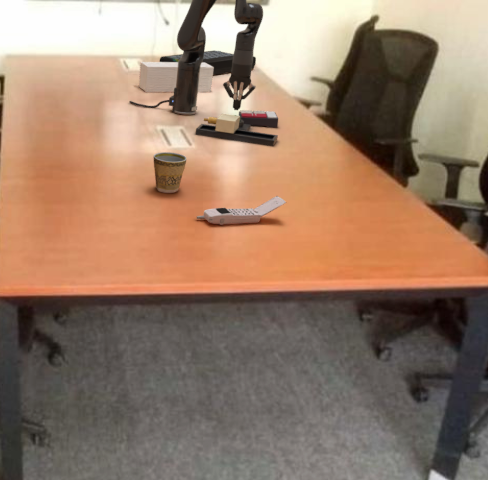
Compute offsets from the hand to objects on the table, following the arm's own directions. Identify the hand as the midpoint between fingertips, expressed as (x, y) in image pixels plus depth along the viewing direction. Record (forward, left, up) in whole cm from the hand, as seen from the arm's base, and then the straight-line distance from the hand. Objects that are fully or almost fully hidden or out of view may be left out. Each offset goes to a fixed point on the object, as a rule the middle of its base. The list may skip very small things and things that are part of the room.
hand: (236, 109), depth 298 cm
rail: (+4, -13, -7) cm, 15 cm away
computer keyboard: (-39, +114, -7) cm, 121 cm away
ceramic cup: (-2, -83, -7) cm, 83 cm away
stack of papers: (-40, +55, -7) cm, 68 cm away
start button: (0, 0, -4) cm, 4 cm away
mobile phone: (+24, -100, -7) cm, 103 cm away
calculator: (+7, +14, -7) cm, 17 cm away
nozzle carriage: (-3, -13, -6) cm, 15 cm away
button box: (0, 0, -7) cm, 7 cm away
